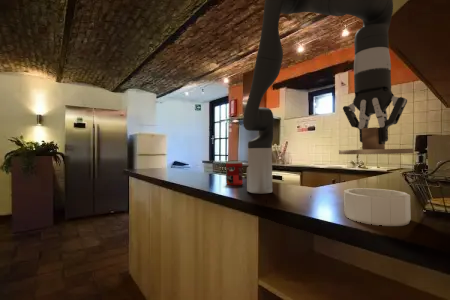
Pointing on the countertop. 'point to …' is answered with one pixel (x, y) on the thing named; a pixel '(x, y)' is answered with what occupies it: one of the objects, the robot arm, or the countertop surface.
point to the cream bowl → (377, 206)
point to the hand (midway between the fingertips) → (373, 144)
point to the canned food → (234, 173)
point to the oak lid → (374, 144)
